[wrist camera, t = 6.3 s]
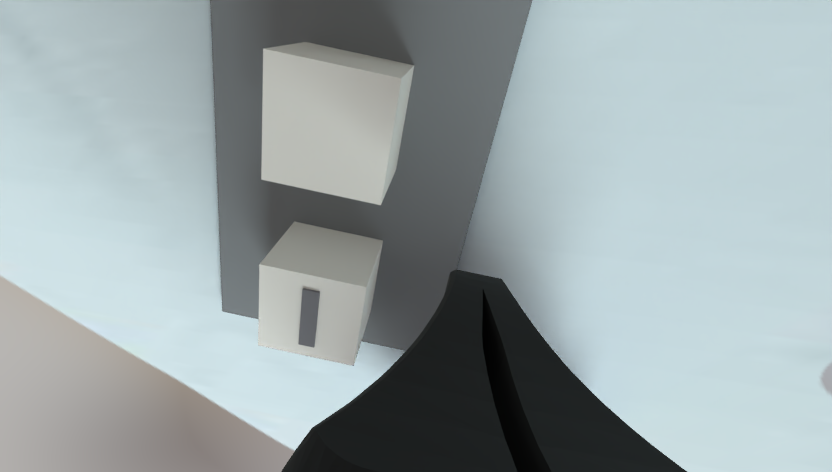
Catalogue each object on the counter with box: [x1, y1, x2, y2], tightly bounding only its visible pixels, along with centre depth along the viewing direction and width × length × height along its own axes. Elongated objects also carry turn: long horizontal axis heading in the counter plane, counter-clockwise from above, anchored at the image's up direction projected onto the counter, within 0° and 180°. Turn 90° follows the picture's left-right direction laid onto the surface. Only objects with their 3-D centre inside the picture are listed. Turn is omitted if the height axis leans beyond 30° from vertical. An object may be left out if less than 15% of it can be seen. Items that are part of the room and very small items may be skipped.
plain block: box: [261, 42, 414, 205], centre depth 16 cm, size 4×4×4 cm
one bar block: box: [258, 221, 383, 366], centre depth 20 cm, size 4×4×4 cm
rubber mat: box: [210, 0, 532, 351], centre depth 18 cm, size 25×12×1 cm, turn 169°
